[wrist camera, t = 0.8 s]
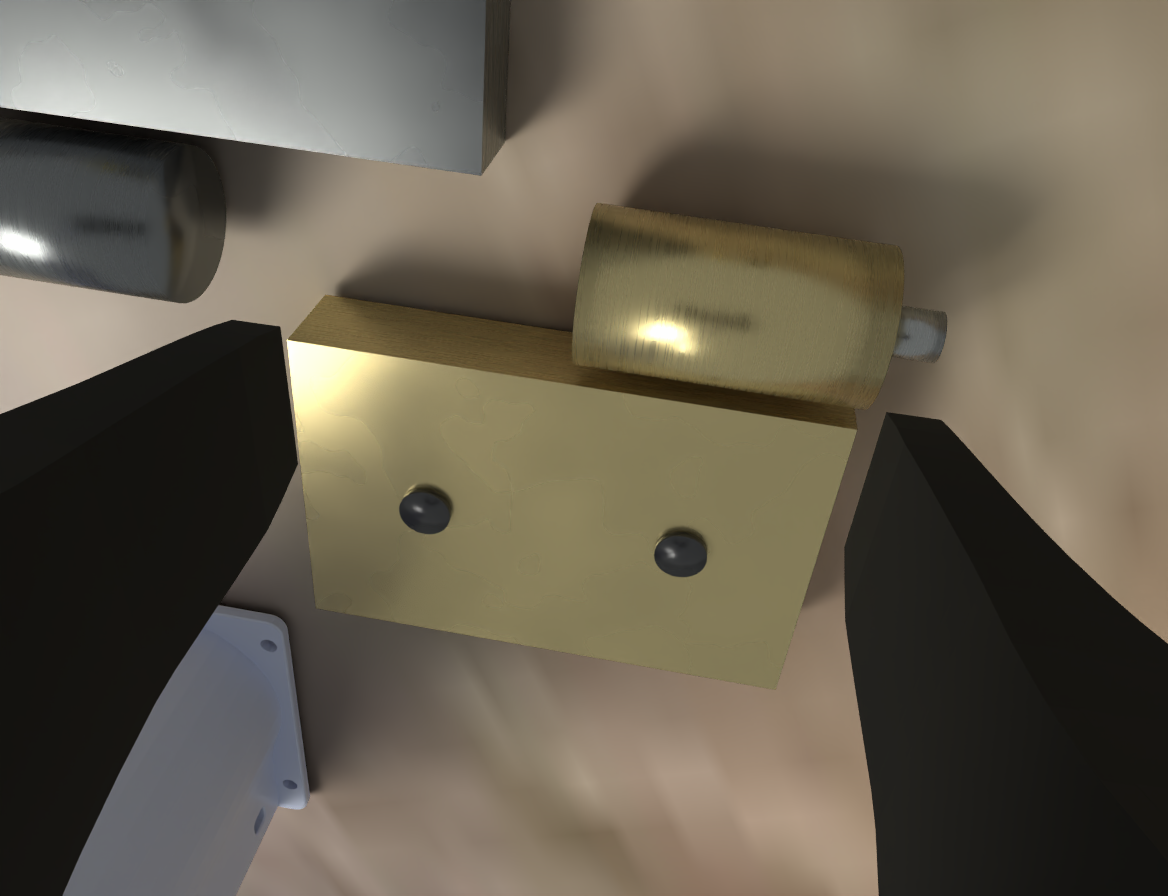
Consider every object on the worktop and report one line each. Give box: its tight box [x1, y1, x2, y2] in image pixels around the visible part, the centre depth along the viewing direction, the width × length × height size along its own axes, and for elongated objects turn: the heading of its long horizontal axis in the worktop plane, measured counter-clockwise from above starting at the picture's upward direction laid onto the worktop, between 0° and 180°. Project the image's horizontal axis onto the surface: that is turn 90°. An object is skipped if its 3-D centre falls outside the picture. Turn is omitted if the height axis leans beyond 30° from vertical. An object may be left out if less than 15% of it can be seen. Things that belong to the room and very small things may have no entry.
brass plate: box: [287, 203, 947, 690], centre depth 21 cm, size 13×12×3 cm
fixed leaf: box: [0, 0, 510, 303], centre depth 17 cm, size 13×12×3 cm
